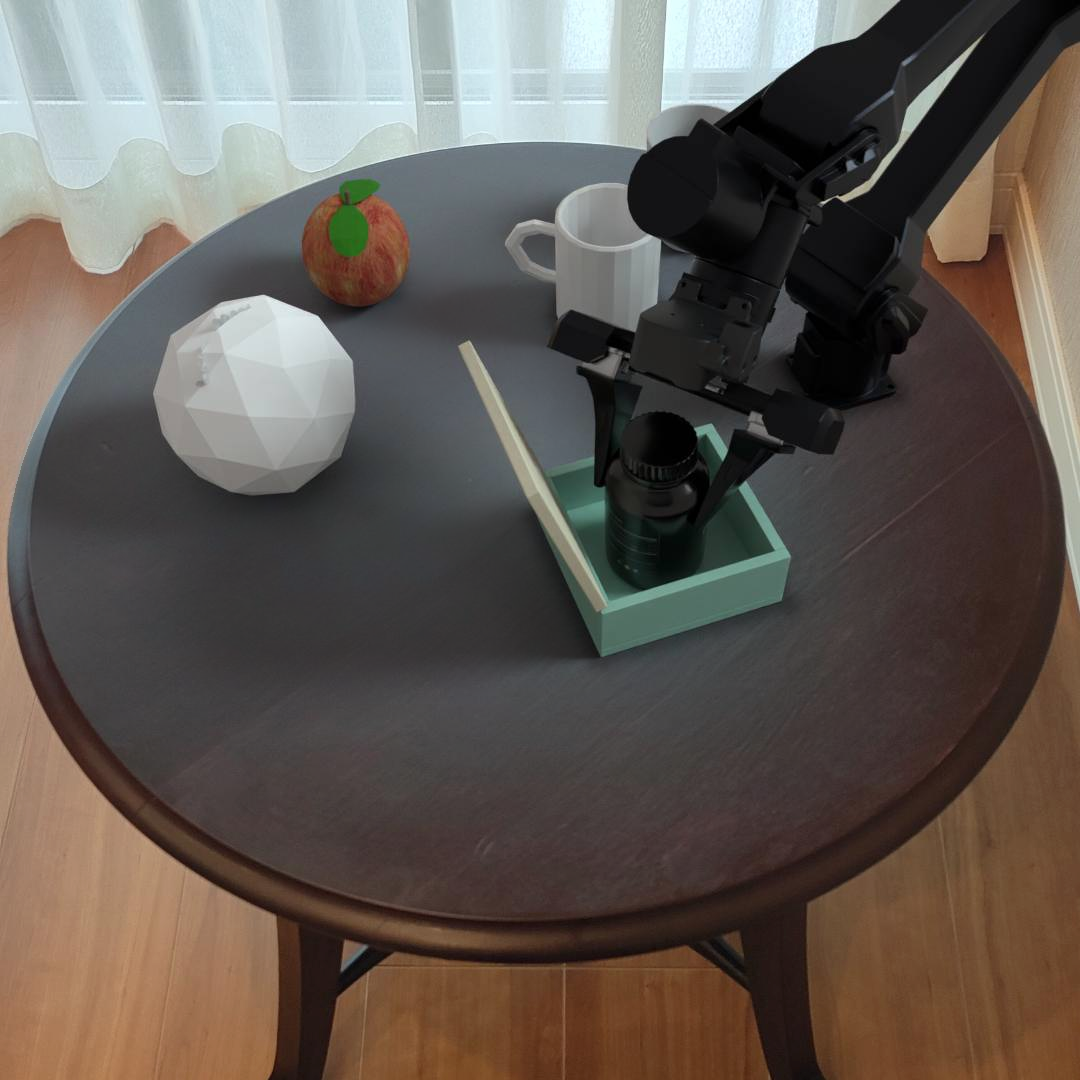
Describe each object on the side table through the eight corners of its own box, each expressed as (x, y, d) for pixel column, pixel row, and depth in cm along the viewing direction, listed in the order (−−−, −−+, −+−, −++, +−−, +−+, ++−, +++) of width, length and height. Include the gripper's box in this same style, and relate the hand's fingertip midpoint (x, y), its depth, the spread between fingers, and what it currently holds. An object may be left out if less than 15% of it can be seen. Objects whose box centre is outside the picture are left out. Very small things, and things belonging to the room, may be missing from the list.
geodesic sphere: (305, 538, 85) (321, 318, 82) (101, 504, 88) (107, 287, 84) (376, 491, 100) (392, 301, 96) (199, 462, 102) (208, 276, 98)
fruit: (295, 321, 107) (272, 222, 99) (332, 246, 113) (313, 146, 105) (397, 335, 106) (382, 236, 98) (429, 258, 111) (417, 159, 103)
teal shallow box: (706, 469, 96) (711, 422, 92) (781, 601, 89) (791, 556, 85) (537, 517, 94) (535, 471, 90) (600, 657, 86) (602, 614, 83)
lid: (469, 339, 78) (457, 345, 78) (539, 491, 71) (526, 497, 71) (540, 464, 90) (530, 470, 90) (607, 607, 82) (596, 613, 82)
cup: (709, 276, 109) (719, 176, 101) (624, 244, 112) (627, 144, 104) (752, 222, 113) (766, 122, 106) (669, 192, 116) (676, 92, 108)
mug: (513, 276, 110) (508, 178, 102) (657, 281, 109) (663, 182, 101) (504, 343, 105) (498, 246, 97) (655, 349, 104) (661, 251, 96)
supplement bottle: (638, 500, 93) (645, 381, 84) (722, 543, 91) (737, 426, 81) (584, 564, 90) (584, 448, 81) (668, 611, 88) (679, 497, 78)
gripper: (559, 205, 77) (471, 453, 80) (858, 311, 71) (750, 575, 74) (620, 235, 88) (540, 454, 91) (886, 330, 81) (790, 561, 84)
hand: (647, 507), depth 85 cm, fingers closed on supplement bottle, 7 cm apart
